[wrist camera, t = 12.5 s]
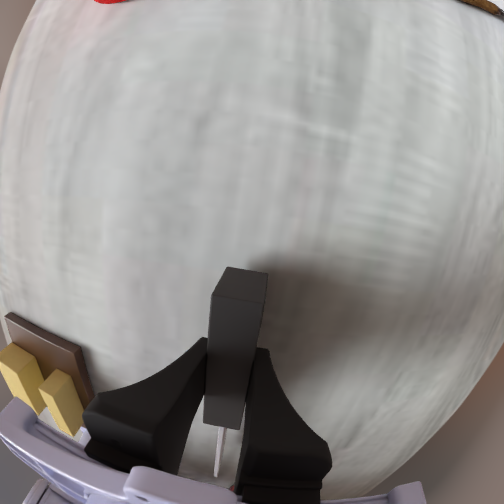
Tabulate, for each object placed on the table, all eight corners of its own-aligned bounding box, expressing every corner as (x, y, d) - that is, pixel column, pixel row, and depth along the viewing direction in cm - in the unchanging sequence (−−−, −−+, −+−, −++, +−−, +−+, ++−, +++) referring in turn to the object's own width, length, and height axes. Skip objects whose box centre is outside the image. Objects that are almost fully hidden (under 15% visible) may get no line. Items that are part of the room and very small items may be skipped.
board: (108, 431, 21) (104, 438, 20) (42, 396, 21) (37, 401, 20) (80, 346, 17) (74, 353, 16) (10, 311, 18) (3, 316, 17)
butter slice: (87, 417, 19) (73, 437, 16) (73, 410, 19) (59, 429, 16) (71, 375, 17) (52, 396, 14) (56, 368, 17) (37, 387, 15)
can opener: (449, -3, 7) (452, -15, 6) (434, -14, 8) (435, -25, 7) (531, 39, 6) (535, 30, 4) (516, 24, 6) (519, 15, 5)
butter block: (53, 399, 19) (38, 416, 17) (29, 384, 20) (15, 399, 17) (35, 356, 18) (16, 373, 15) (11, 341, 18) (-6, 356, 15)
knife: (226, 265, 13) (211, 294, 10) (268, 273, 13) (264, 303, 10) (209, 447, 18) (201, 478, 15) (233, 452, 18) (227, 483, 15)
